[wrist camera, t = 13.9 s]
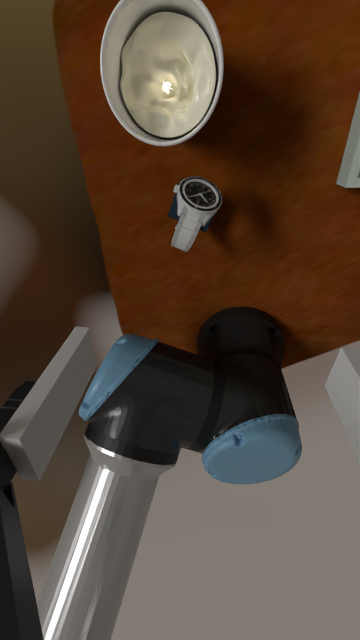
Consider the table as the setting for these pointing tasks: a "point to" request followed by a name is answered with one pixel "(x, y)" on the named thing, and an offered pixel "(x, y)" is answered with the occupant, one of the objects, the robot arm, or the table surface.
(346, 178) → the tray
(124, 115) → the candle holder
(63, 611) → the robot arm
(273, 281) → the table surface
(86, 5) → the table surface
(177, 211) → the watch
